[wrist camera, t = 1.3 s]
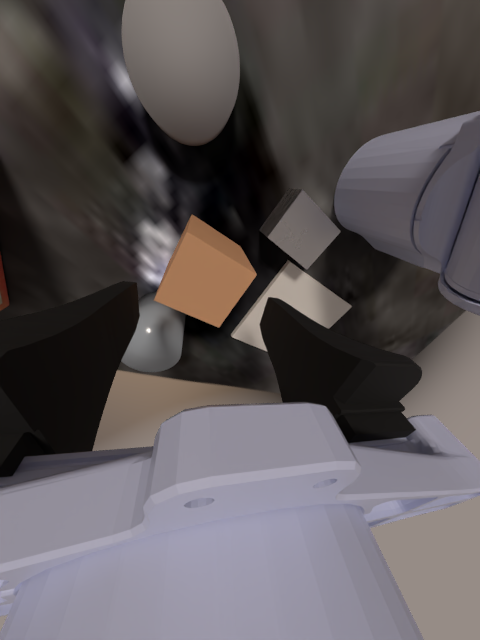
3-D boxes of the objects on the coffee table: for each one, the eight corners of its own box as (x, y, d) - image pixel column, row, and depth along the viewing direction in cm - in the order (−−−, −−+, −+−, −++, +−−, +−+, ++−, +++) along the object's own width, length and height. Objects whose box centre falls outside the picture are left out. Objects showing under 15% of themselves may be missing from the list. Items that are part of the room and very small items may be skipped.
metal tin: (323, 224, 19) (341, 231, 17) (294, 259, 21) (306, 269, 18) (288, 188, 17) (302, 189, 14) (258, 229, 18) (267, 237, 16)
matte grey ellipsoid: (251, 68, 13) (261, 47, 11) (206, 166, 15) (207, 164, 13) (157, -42, 10) (147, -98, 8) (122, 99, 12) (106, 82, 10)
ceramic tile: (349, 304, 25) (352, 306, 24) (292, 359, 29) (293, 362, 29) (287, 259, 20) (289, 261, 20) (231, 334, 25) (231, 337, 24)
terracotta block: (240, 246, 19) (257, 274, 13) (214, 287, 21) (218, 327, 15) (191, 214, 17) (187, 231, 11) (168, 264, 19) (153, 300, 13)
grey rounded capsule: (193, 305, 22) (191, 340, 17) (174, 337, 24) (167, 377, 19) (145, 283, 19) (126, 317, 14) (128, 321, 21) (107, 362, 17)
